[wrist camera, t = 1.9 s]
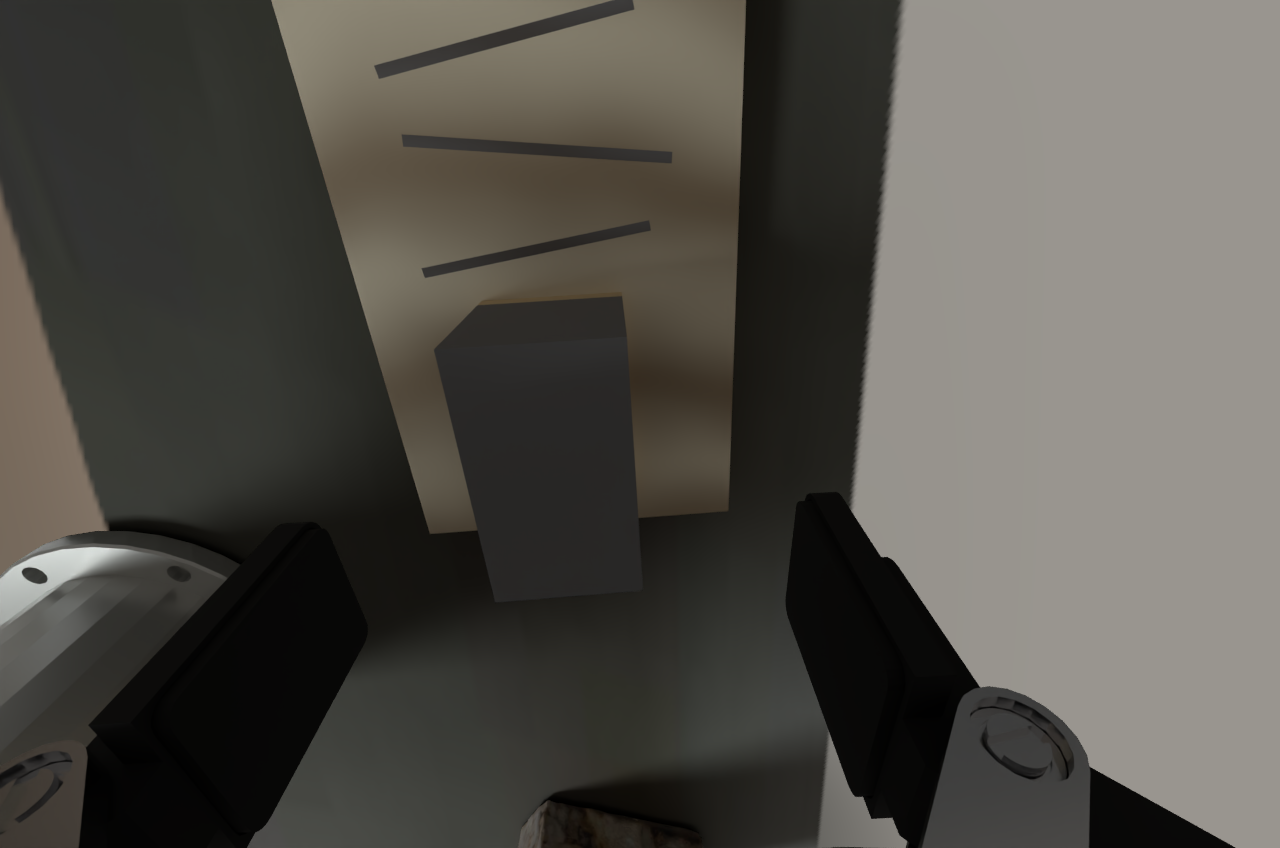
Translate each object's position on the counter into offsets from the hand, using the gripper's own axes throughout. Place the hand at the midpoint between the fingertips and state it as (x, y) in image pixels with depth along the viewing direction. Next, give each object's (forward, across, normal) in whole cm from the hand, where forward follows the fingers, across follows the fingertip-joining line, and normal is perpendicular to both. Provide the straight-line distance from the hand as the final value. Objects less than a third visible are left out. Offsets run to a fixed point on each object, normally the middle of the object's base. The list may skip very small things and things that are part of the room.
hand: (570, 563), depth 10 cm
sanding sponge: (+8, +1, +1) cm, 9 cm away
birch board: (+10, +1, -6) cm, 12 cm away
